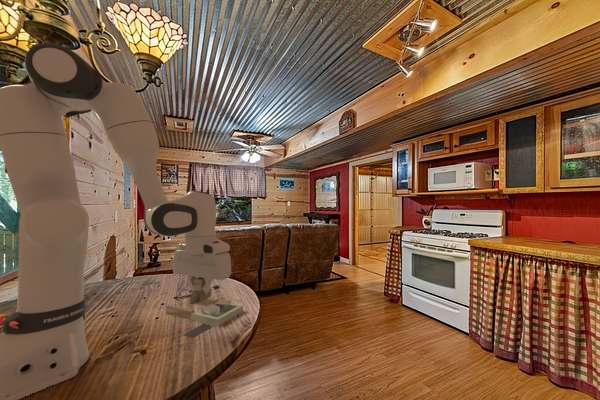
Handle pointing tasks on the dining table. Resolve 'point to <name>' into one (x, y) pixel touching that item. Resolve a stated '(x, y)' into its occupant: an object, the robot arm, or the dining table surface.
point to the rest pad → (198, 330)
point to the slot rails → (185, 311)
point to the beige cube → (223, 306)
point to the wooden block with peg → (199, 291)
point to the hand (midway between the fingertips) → (200, 291)
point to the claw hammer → (190, 294)
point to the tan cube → (211, 310)
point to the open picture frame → (217, 321)
